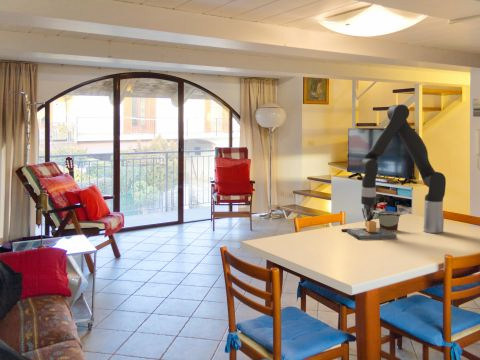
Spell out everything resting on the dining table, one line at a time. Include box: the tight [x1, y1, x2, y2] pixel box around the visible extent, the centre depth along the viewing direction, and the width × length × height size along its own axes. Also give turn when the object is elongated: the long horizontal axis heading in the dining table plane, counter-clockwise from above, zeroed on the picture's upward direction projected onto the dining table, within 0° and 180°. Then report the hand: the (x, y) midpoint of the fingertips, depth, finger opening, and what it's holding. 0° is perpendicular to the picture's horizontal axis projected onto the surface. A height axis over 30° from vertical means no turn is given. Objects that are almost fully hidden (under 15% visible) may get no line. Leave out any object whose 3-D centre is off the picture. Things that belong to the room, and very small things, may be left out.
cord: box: [346, 230, 359, 240], centre depth 250 cm, size 17×1×1 cm, turn 7°
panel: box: [346, 227, 398, 241], centre depth 252 cm, size 20×18×2 cm
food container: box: [377, 210, 401, 232], centre depth 266 cm, size 12×6×10 cm, turn 84°
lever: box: [365, 220, 377, 235], centre depth 252 cm, size 4×4×7 cm
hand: (367, 226), depth 257 cm, fingers closed
